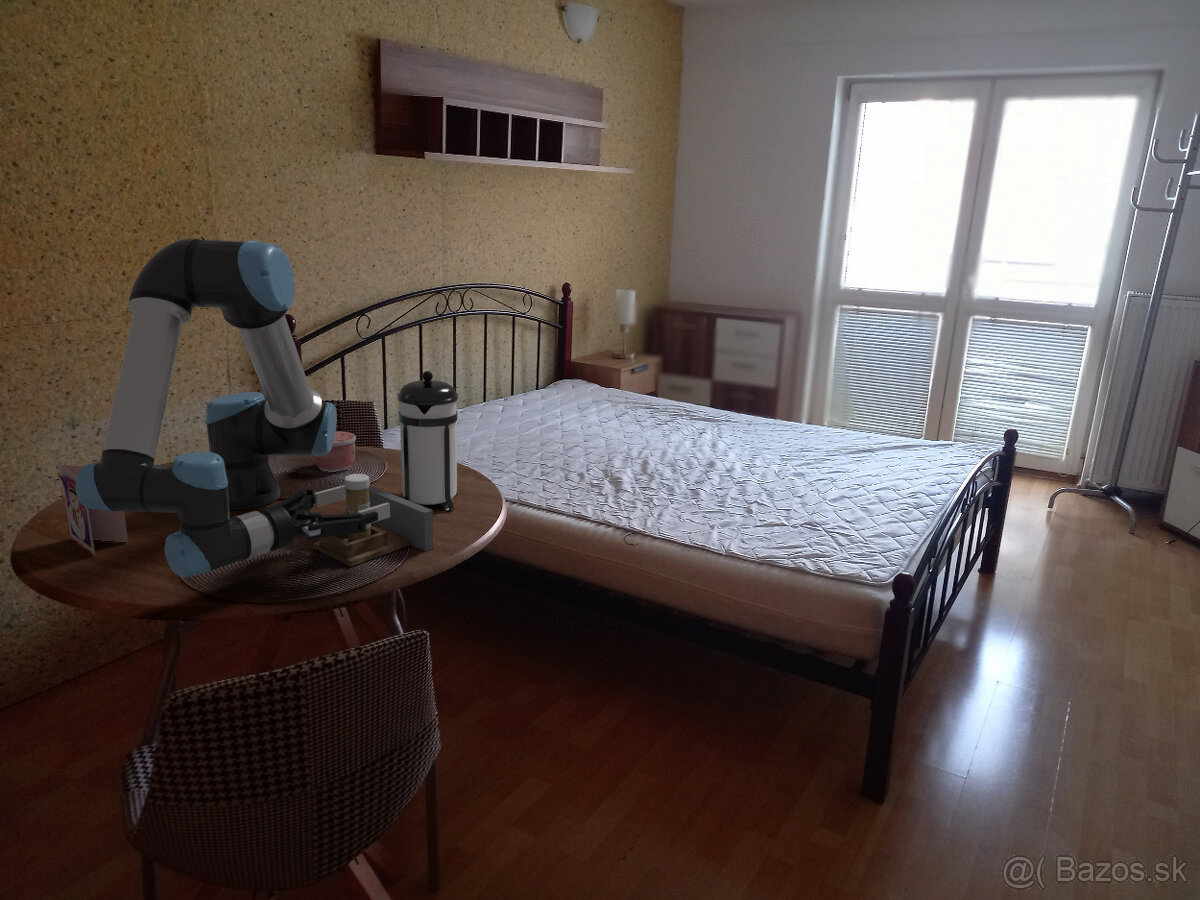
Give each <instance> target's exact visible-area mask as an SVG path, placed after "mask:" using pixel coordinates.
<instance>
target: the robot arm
mask: <svg viewBox="0 0 1200 900" xmlns="http://www.w3.org/2000/svg"><path fill="white" fill-rule="evenodd" d="M294 278H295V276H294V270H293V268H292V265H291V261H290V259H289V258H288V256H287V254H286V253H285V252H284V250H283V249H281V248H280V247H279V246H278V245H276V244H274V243H270V242H262V241H261V242H260V241H257V240H246V241H243V240H242V241H239V240H221V239H219V240H218V239H200V238H185V239H180V240H176V241H174V242H172V243H170V244H168V245H166V246H164V247H162V248H161V249H160V250H159V251H158V252H156V253H155V254H154V255H153V256H152V257H151V258H150V259H149V260H148V261H147V262H146V264H145V265H144V266H143V267H142V269H141V271H140V272H139V274H138V276H137V277H136V278H135V282H134V284H133V286H132V288H131V291H130V294H129V301H128V303H127V305H128V310H130V312H131V313H132V316H131V317H132V319H131V323H130V327H129V331H128V336H127V341H126V343H125V345H126V346H125V349H124V354H123V358H122V363H121V367H120V372H119V375H118V376H119V377H118V381H117V384H116V385H117V386H116V390H115V395H114V399H113V404H112V408H111V412H110V417H109V422H108V427H107V431H106V434H105V439H104V444H103V449H102V453H101V456H100V460H99V461H96V462H94V463H93V462H91V463H87V464H85V465H84V467H83V468H82V470H81V473H79V474H78V477H77V480H76V493H77V497H78V499H79V501H80V502H81V504H82V505H84V506H85V507H87V508H88V509H96V510H107V511H111V512H114V511H115V512H117V511H124V512H145V513H146V512H149V513H150V512H152V513H174V514H177V516H178V523H179V530H178V531H175V532H173V533H171V534H169V535H168V536H167V537H166V538H165V544H164V547H163V548H164V549H163V550H164V555H165V558H166V562H167V563H168V566H169V568H170V569H171V570H172V571H173V573H174V574H175V575H177V576H178V577H181V578H190V577H193V576H198V575H201V574H205V573H206V574H209V573H211V571H214V570H217V569H220V568H224V567H227V566H230V565H232V564H235V563H238V562H241V561H245V560H249V561H251V560H252V559H253V558H254V557H257V556H261V555H263V554H267V553H268V552H274V551H277V550H280V549H283V548H286V547H289V546H291V545H292V544H293V542H294V540H295V538H296V537H297V536H299V535H300V536H303V535H308V540H309V541H314V540H320V539H319V538H322V537H330V536H338V535H346V534H354V533H363V532H366V525H367V524H370V523H373V522H376V521H380V520H383V519H386V518H389V517H390V504H389V503H384V504H381V505H378V506H374V507H371V508H368V509H365V510H361V511H358V514H347V513H345V514H344V513H343V514H324V513H322V512H310V511H311V510H312V508H313V507H316V508H320V507H324V506H327V505H331V504H334V503H339V502H341V501H345V500H346V489H345V486H344V484H343V485H339V486H337V487H336V486H335V487H331V488H328V489H325V490H321V491H317V492H314V490H313V489H311V488H310V489H306V490H305V491H306V494H305V491H298V492H297V493H295V494H292V495H291V496H290V497H288V498H286V499H285V500H283V501H281V502H280V503H277V504H274V505H272V506H268V507H264V506H267V505H269V504H270V505H271V503H274V502H275V501H277V500H278V499H279V498H280V496H281V492H280V484H279V482H278V480H277V477H276V475H275V473H274V470H273V469H272V467H271V464H270V459H269V456H285V457H287V456H288V457H302V458H303V457H307V458H314V456H325V455H327V454H328V453H329V452H330V451H331V449H332V446H333V443H334V438H335V433H336V431H337V424H338V423H337V422H338V419H337V418H338V417H337V415H338V414H337V408H336V405H335V404H334V403H330V402H328V401H327V402H323V401H322V397H321V395H320V394H319V393H318V392H317V390H315V389H314V388H313V387H310V385H309V382H308V379H307V377H306V373H305V370H304V368H303V365H302V361H301V359H300V356H299V352H298V350H297V347H296V345H295V341H294V338H293V335H292V333H291V329H290V326H289V324H288V321H287V317H286V315H287V313H288V311H289V308H290V307H291V306H292V305H293V302H294V299H295V295H296V294H295V293H296V283H295V281H294ZM197 307H199V308H217V309H220V311H221V314H222V316H223V318H224V320H225V321H226V323H227V324H228V325H230V326H231V327H234V328H236V329H238V332H239V334H240V337H241V339H242V341H243V342H242V343H243V344H244V347H245V349H246V351H247V353H248V357H249V359H250V361H251V364H252V366H253V368H254V371H255V373H256V376H257V378H258V381H259V384H260V386H261V388H262V392H263V393H264V394H263V393H262V392H257V391H247V392H239V393H232V394H227V395H223V396H218V397H217V398H215V399H212V400H211V401H209V402H208V403H207V405H206V408H205V410H206V411H205V412H206V413H205V416H206V418H205V419H206V420H205V425H206V430H207V431H206V432H207V440H208V447H209V451H198V452H192V451H191V452H187V453H183V454H180V455H178V456H176V457H175V458H174V459H173V461H172V465H162V464H161V465H160V464H159V465H157V464H154V463H155V457H156V452H157V449H158V442H159V438H160V434H161V428H162V423H163V420H164V419H163V418H164V414H165V409H166V404H167V400H168V395H169V391H170V387H171V386H170V385H171V381H172V377H173V371H174V367H175V362H176V358H177V352H178V347H179V343H180V338H181V332H182V329H183V326H184V325H186V324H188V323H189V322H190V321H191V318H192V317H191V316H192V312H193V310H194V309H195V308H197ZM265 399H266V400H265ZM259 507H264V508H262V509H258V510H253V511H250V512H245V513H243V514H238V515H236V516H232V517H231V511H239V510H249V509H255V508H259Z"/></svg>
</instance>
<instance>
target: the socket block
mask: <svg viewBox="0 0 1200 900" xmlns="http://www.w3.org/2000/svg"><path fill="white" fill-rule="evenodd" d="M370 532H371V536H368V537H365V538H362V539H359V540H356V541H353V542H350V543H348V542H347V540H348V534H346V535H338V536H330V537H322V538H319V539H318V541H316V542H313V543H312V547H313V548H312V549H314V550H317V551H318V552H321V553H323V554H325V555H326V556H329V557H330V558H333V559H334V560H337V561H338V562H340V563H343V564H345V565H347V566H348V567H353V566H356V565H357V566H358V565H359V564H362V563H365V562H367V561H370V560H373V559H376V558H378V557H381V556H384V555H386V554H387V555H388V554H389V553H392V552H393V553H394V552H396V551H398V550H400V549H403V548H406V547H408V546H412V540H410V539H408V538H406V537H403V536H401V535H399V534H397V533H394V532H392V531H390V530H387V529H385V528H383V527H381V526H378V525H376V524H371V526H370Z"/></svg>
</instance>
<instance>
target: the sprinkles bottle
mask: <svg viewBox="0 0 1200 900" xmlns="http://www.w3.org/2000/svg"><path fill="white" fill-rule="evenodd" d="M343 481H344V483H343V485H344V486H345V489H346V499H345V500H346V505H345V506H346V507H345V508H346V509H345V510H346V514H358V511H361V510H365V509H368V508H370V501H369V486H371V484H370V483H371V482H370V476H369V475H367V474H364V473H353V474H349V475H347V476H344V479H343ZM370 526H371V523H370V524H367V525H366V532H363V533H354V534H348V540H347V542H348V543H350V542H353V541H356V540H359V539H362V538H365V537H368V536H371V532H370Z"/></svg>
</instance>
